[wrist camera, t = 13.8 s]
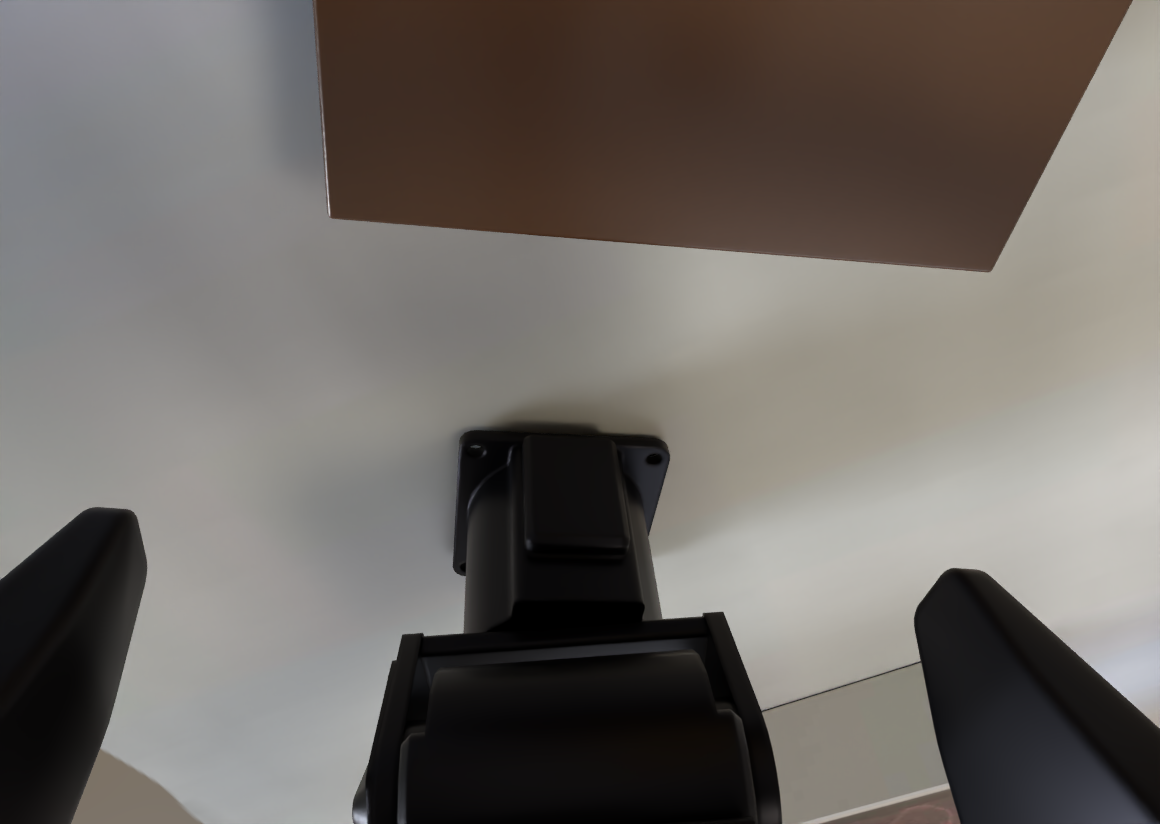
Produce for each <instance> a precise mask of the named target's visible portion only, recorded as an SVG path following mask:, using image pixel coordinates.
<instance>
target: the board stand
mask: <svg viewBox="0 0 1160 824" xmlns="http://www.w3.org/2000/svg"><path fill="white" fill-rule="evenodd" d="M312 1H313V15H314V29H315V44H316V58H317V72H318V86H319V100H320V114H321V129H322V143H323V157H324V171H325V185H326V199H327V213H328V215H329V217H330V218H332V219H344V220H356V221H369V222H381V223H393V224H405V225H417V226H430V227H442V228H454V229H466V230H478V231H491V232H503V233H515V234H527V235H539V236H552V237H564V238H576V239H588V240H600V241H613V242H625V243H637V244H649V245H661V246H674V247H686V248H698V249H710V250H722V251H735V252H747V253H759V254H771V255H784V256H796V257H808V258H820V259H832V260H845V261H857V262H869V263H881V264H893V265H906V266H918V267H930V268H942V269H954V270H967V271H979V272H990V271H991V270H992V269H993V267H994V265H995V264H996V262H997V260H998V258H999V256H1000V254H1001V252H1002V250H1003V248H1004V246H1005V244H1006V242H1007V241H1008V239H1009V237H1010V235H1011V233H1012V231H1013V229H1014V227H1015V225H1016V223H1017V221H1018V219H1019V218H1020V216H1021V214H1022V212H1023V210H1024V208H1025V206H1026V204H1027V202H1028V200H1029V198H1030V196H1031V194H1032V193H1033V191H1034V189H1035V187H1036V185H1037V183H1038V181H1039V179H1040V177H1041V175H1042V173H1043V171H1044V170H1045V168H1046V166H1047V164H1048V162H1049V160H1050V158H1051V156H1052V154H1053V152H1054V150H1055V148H1056V146H1057V145H1058V143H1059V141H1060V139H1061V137H1062V135H1063V133H1064V131H1065V129H1066V127H1067V125H1068V123H1069V122H1070V120H1071V118H1072V116H1073V114H1074V112H1075V110H1076V108H1077V106H1078V104H1079V102H1080V100H1081V99H1082V97H1083V95H1084V93H1085V91H1086V89H1087V87H1088V85H1089V83H1090V81H1091V79H1092V77H1093V75H1094V74H1095V72H1096V70H1097V68H1098V66H1099V64H1100V62H1101V60H1102V58H1103V56H1104V54H1105V52H1106V51H1107V49H1108V47H1109V45H1110V43H1111V41H1112V39H1113V37H1114V35H1115V33H1116V31H1117V29H1118V27H1119V26H1120V24H1121V22H1122V20H1123V18H1124V16H1125V14H1126V12H1127V10H1128V8H1129V6H1130V4H1131V3H1132V1H1133V0H312Z"/></svg>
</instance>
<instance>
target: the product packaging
mask: <svg viewBox="0 0 1160 824" xmlns="http://www.w3.org/2000/svg"><path fill="white" fill-rule="evenodd" d="M762 714H763V717H764V720H765V723H766V726H767V729H768V733H769V737H770V741H771V745H772V749H773V754H774V759H775V764H776V769H777V776H778V783H779V790H780V799H781V810H782V824H961V823H960V820H959V816H958V813H957V810H956V806H955V803H954V800H953V796H952V793H951V790H950V787H949V783H948V780H947V777H946V773H945V770H944V766H943V763H942V759H941V756H940V752H939V748H938V744H937V740H936V735H935V731H934V726H933V721H932V716H931V711H930V705H929V700H928V695H927V690H926V685H925V680H924V674H923V669H922V664H921V663H918V664H915V665H912V666H909V667H906V668H902V669H899V670H896V671H893V672H889V673H886V674H883V675H880V676H877V677H873V678H870V679H867V680H864V681H861V682H857V683H854V684H851V685H848V686H844V687H841V688H838V689H835V690H832V691H828V692H825V693H822V694H819V695H815V696H812V697H809V698H806V699H803V700H799V701H796V702H793V703H790V704H786V705H783V706H780V707H777V708H774V709H770V710H767V711H764V712H762Z"/></svg>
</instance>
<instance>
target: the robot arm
mask: <svg viewBox="0 0 1160 824" xmlns="http://www.w3.org/2000/svg"><path fill="white" fill-rule="evenodd" d="M474 445H478V446H481V447H480V448H476V449H475V448H471V446H474ZM655 453H656V454H657V455H656V456H649V455H651V454H655ZM669 461H670V454H669V450H668V446H667V445H666V443H665V442H663V441H662V440H658V439H647V438H626V437H606V436H585V435H565V434H544V433H524V432H503V431H482V430H474V431H469V432H466V433H464V434H463V435H462V436H461V438H460V441H459V458H458V477H457V497H456V516H455V535H454V555H453V569H454V571H455V572H456V573H457V574H459V575H462V576H466V584H465V611H464V634H450V635H436V636H424V634H423V633H418V634H404V635H402V638H401V643H400V647H399V652H398V656H397V660H394V661H392V664H391V668H390V672H389V676H388V681H387V685H386V690H385V694H384V698H383V703H382V707H381V711H380V716H379V720H378V724H377V729H376V733H375V737H374V742H373V746H372V750H371V755H370V759H369V763H368V765H367V768H366V770H365V773H364V775H363V777H362V780H361V782H360V785H359V787H358V789H357V792H356V794H355V797H354V800H353V808H352V817H353V823H354V824H782V810H781V799H780V790H779V783H778V776H777V769H776V764H775V759H774V754H773V749H772V745H771V741H770V737H769V733H768V729H767V726H766V723H765V720H764V717H763V714H762V712H761V709H760V706H759V704H758V701H757V699H756V696H755V693H754V691H753V688H752V686H751V683H750V680H749V678H748V675H747V673H746V670H745V667H744V665H743V662H742V660H741V657H740V654H739V652H738V649H737V646H736V644H735V641H734V639H733V636H732V633H731V631H730V628H729V626H728V623H727V620H726V618H725V615H724V613H723V612H712V613H703V616H702V617H688V618H674V619H662V614H661V608H660V602H659V597H658V591H657V585H656V579H655V573H654V568H653V562H652V556H651V550H650V545H649V539H648V536H649V532H650V529H651V525H652V522H653V518H654V515H655V511H656V507H657V504H658V500H659V497H660V493H661V490H662V486H663V482H664V479H665V475H666V472H667V468H668V465H669ZM146 575H147V559H146V555H145V550H144V546H143V541H142V537H141V532H140V528H139V523H138V519H137V517H136V515H135V514H134V512H132V511H131V510H128V509H117V508H103V507H93V508H89V509H87V510H85V511H83V512H82V513H80V514H79V515H78V516H77V517H75V518H74V519H73V520H72V521H71V522H69V523H68V524H67V525H66V526H65V527H63V528H62V529H61V530H60V531H59V532H57V533H56V534H55V535H54V536H53V537H51V538H50V539H49V540H48V541H47V542H45V543H44V544H43V545H42V546H41V547H39V548H38V549H37V550H36V551H35V552H34V553H32V554H31V555H30V556H29V557H28V558H26V559H25V560H24V561H23V562H22V563H20V564H19V565H18V566H17V567H16V568H14V569H13V570H12V571H11V572H10V573H8V574H7V575H6V576H5V577H4V578H2V579H1V580H0V824H71V822H72V820H73V817H74V814H75V812H76V809H77V807H78V804H79V801H80V799H81V796H82V794H83V791H84V788H85V786H86V783H87V781H88V778H89V776H90V773H91V770H92V768H93V765H94V762H95V760H96V757H97V755H98V752H99V750H100V747H101V744H102V742H103V739H104V736H105V733H106V730H107V727H108V725H109V721H110V717H111V714H112V710H113V707H114V703H115V699H116V695H117V692H118V688H119V684H120V680H121V676H122V672H123V668H124V664H125V660H126V656H127V652H128V649H129V645H130V641H131V637H132V633H133V629H134V625H135V621H136V617H137V613H138V609H139V606H140V602H141V598H142V594H143V590H144V586H145V582H146ZM914 627H915V633H916V638H917V643H918V649H919V654H920V659H921V664H922V669H923V674H924V680H925V685H926V690H927V695H928V700H929V705H930V711H931V716H932V721H933V726H934V731H935V735H936V740H937V744H938V748H939V752H940V756H941V759H942V763H943V766H944V770H945V773H946V777H947V780H948V783H949V787H950V790H951V793H952V796H953V800H954V803H955V806H956V810H957V813H958V816H959V820H960V823H961V824H1160V728H1158V727H1157V726H1156V725H1155V724H1154V723H1153V722H1152V721H1151V720H1150V719H1148V718H1147V717H1146V716H1145V715H1144V714H1143V713H1142V712H1141V711H1140V710H1138V709H1137V708H1136V707H1135V706H1134V705H1133V704H1132V703H1131V702H1130V701H1128V700H1127V699H1126V698H1125V697H1124V696H1123V695H1122V694H1121V693H1120V692H1118V691H1117V690H1116V689H1115V688H1114V687H1113V686H1112V685H1111V684H1110V683H1108V682H1107V681H1106V680H1105V679H1104V678H1103V677H1102V676H1101V675H1100V674H1098V673H1097V672H1096V671H1095V670H1094V669H1093V668H1092V667H1091V666H1090V665H1088V664H1087V663H1086V662H1085V661H1084V660H1083V659H1082V658H1081V657H1080V656H1078V655H1077V654H1076V653H1075V652H1074V651H1073V650H1072V649H1071V648H1070V647H1068V646H1067V645H1066V644H1065V643H1064V642H1063V641H1062V640H1061V639H1060V638H1058V637H1057V636H1056V635H1055V634H1054V633H1053V632H1052V631H1051V630H1050V629H1048V628H1047V627H1046V626H1045V625H1044V624H1043V623H1042V622H1041V621H1040V620H1038V619H1037V618H1036V617H1035V616H1034V615H1033V614H1032V613H1031V612H1030V611H1028V610H1027V609H1026V608H1025V607H1024V606H1023V605H1022V604H1021V603H1020V602H1018V601H1017V600H1016V599H1015V598H1014V597H1013V596H1012V595H1011V594H1010V593H1008V592H1007V591H1006V590H1005V589H1004V588H1003V587H1002V586H1001V585H1000V584H998V583H997V582H996V581H995V580H994V579H993V578H992V577H991V576H989V575H988V574H987V573H985V572H983V571H980V570H974V569H960V568H951V569H949V570H946V571H945V572H944V573H943V574H942V575H941V576H940V578H939V579H938V580H937V581H936V583H935V584H934V585H933V587H932V588H931V589H930V591H929V592H928V593H927V594H926V596H925V597H924V598H923V600H922V601H921V602H920V604H919V605H918V607H917V609H916V612H915V617H914Z"/></svg>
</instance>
